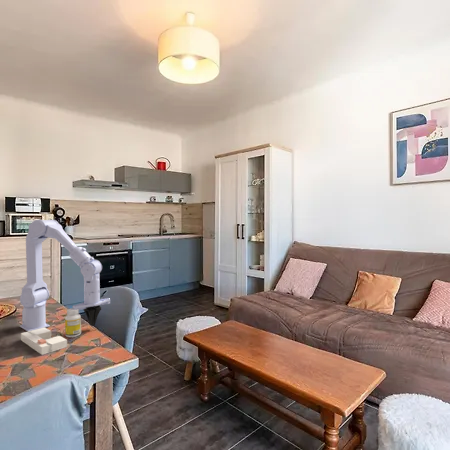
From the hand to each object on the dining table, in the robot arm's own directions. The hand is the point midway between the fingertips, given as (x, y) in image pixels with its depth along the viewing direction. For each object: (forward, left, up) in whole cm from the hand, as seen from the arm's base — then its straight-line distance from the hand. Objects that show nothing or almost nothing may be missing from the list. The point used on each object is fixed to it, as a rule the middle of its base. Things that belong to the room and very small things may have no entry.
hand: (92, 325), depth 124 cm
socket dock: (0, -18, -2) cm, 18 cm away
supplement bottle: (0, -8, -2) cm, 8 cm away
